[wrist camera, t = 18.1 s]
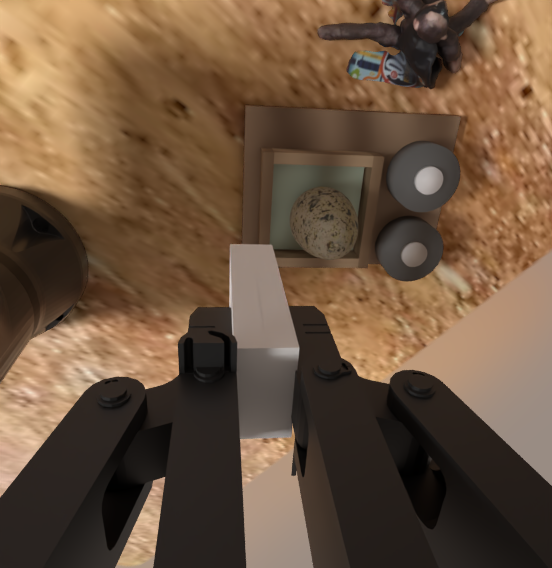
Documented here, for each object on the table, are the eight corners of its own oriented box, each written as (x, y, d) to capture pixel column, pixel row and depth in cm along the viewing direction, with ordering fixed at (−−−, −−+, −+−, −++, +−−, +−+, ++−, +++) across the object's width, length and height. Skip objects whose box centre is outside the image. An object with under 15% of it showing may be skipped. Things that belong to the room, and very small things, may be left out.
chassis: (241, 258, 48) (243, 283, 43) (245, 104, 42) (248, 111, 36) (424, 260, 50) (448, 284, 45) (455, 115, 44) (487, 123, 39)
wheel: (381, 204, 44) (391, 213, 41) (391, 139, 41) (402, 144, 39) (441, 206, 44) (454, 215, 42) (455, 141, 42) (470, 147, 39)
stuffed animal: (519, 29, 40) (454, 107, 36) (427, 66, 49) (364, 133, 44) (468, -115, 35) (385, -46, 31) (374, -47, 44) (298, 16, 39)
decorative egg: (327, 245, 47) (352, 290, 38) (275, 224, 45) (287, 264, 37) (356, 193, 45) (389, 226, 36) (301, 168, 43) (322, 197, 34)
